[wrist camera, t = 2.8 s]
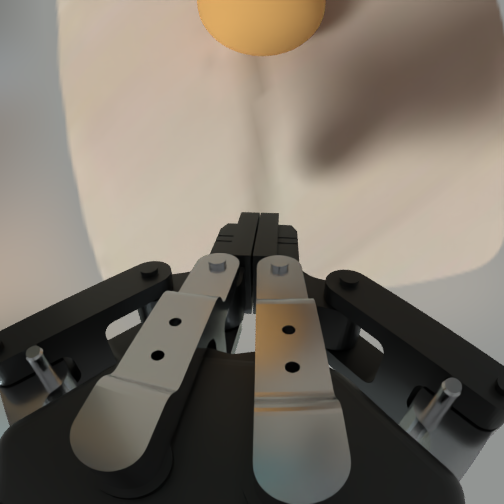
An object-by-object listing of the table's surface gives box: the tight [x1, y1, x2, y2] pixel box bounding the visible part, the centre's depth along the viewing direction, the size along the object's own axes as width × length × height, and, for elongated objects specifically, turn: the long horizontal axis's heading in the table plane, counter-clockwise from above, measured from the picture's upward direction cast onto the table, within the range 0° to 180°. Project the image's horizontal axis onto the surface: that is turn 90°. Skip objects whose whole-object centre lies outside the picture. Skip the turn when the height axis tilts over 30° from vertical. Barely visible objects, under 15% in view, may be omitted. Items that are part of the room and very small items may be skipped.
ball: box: [197, 0, 326, 56], centre depth 9 cm, size 5×5×5 cm
